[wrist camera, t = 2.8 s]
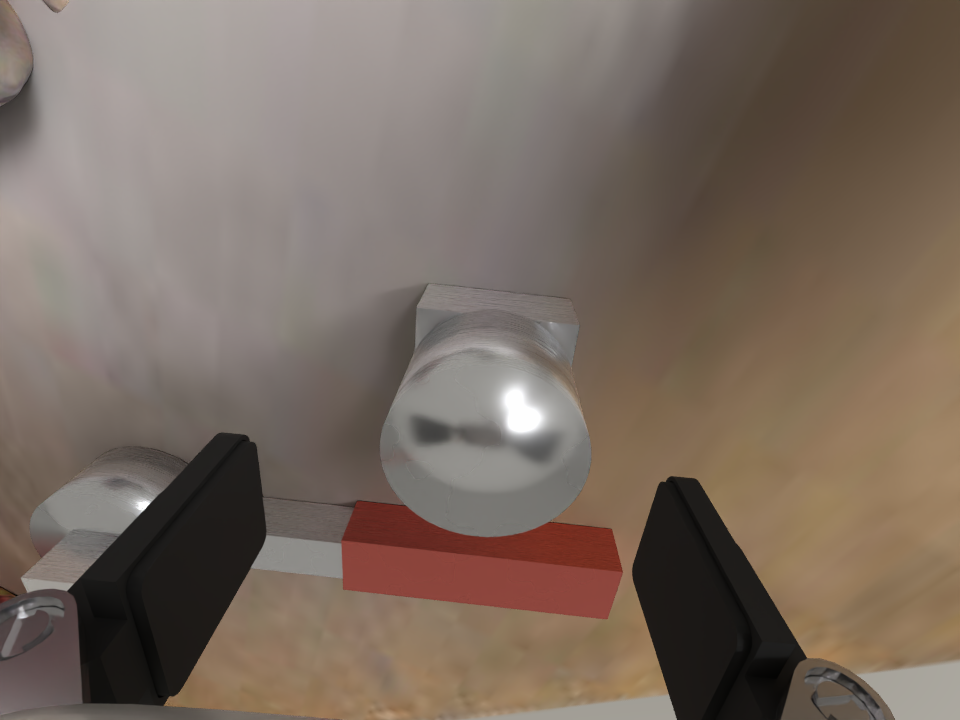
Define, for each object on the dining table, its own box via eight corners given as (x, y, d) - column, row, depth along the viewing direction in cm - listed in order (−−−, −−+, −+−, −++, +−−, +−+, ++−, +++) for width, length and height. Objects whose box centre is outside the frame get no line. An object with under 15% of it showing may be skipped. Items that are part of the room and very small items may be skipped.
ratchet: (620, 501, 20) (653, 611, 15) (591, 598, 22) (612, 716, 18) (70, 439, 20) (-58, 530, 15) (106, 543, 22) (6, 647, 18)
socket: (577, 293, 16) (612, 378, 11) (552, 423, 18) (570, 546, 13) (423, 276, 16) (379, 352, 11) (417, 408, 18) (379, 525, 13)
